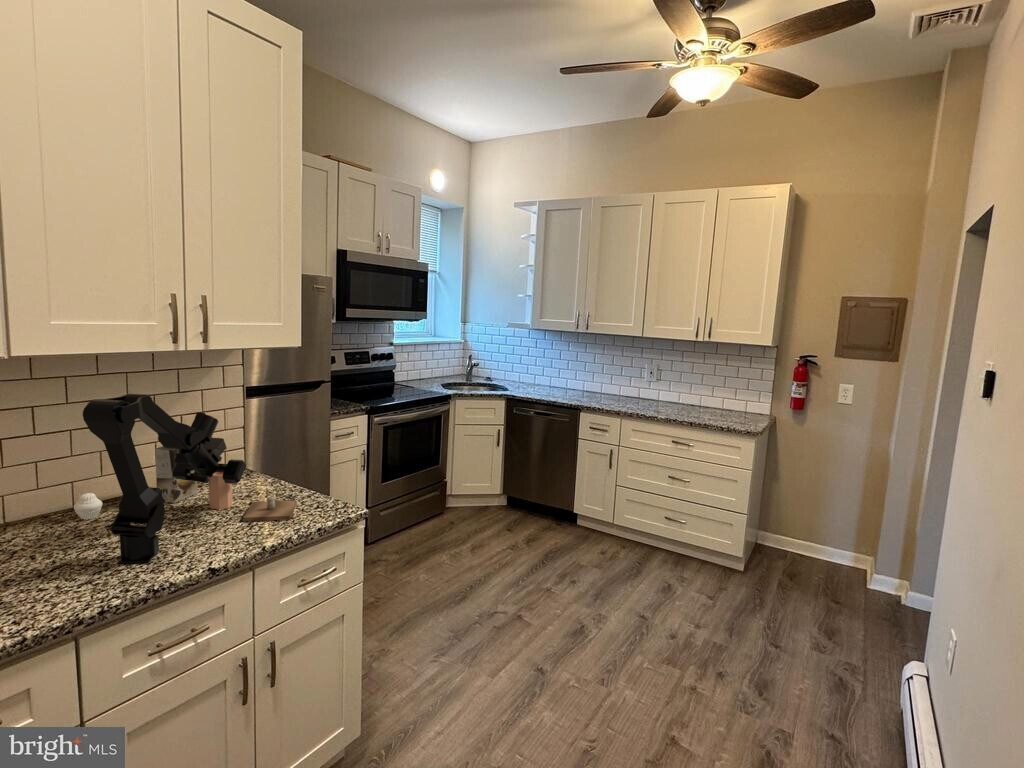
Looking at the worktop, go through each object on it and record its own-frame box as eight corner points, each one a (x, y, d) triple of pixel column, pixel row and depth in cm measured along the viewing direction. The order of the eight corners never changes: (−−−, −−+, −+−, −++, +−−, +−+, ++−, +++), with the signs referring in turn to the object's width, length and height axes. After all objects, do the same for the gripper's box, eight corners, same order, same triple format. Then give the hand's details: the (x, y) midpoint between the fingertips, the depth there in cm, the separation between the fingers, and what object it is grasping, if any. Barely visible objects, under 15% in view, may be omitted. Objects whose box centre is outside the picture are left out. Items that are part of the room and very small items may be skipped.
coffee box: (175, 504, 161) (172, 450, 159) (156, 501, 163) (153, 448, 160) (198, 493, 170) (196, 442, 168) (180, 491, 171) (178, 440, 169)
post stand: (243, 521, 151) (242, 505, 150) (253, 505, 163) (253, 490, 162) (289, 519, 154) (289, 504, 153) (296, 504, 165) (296, 489, 165)
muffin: (95, 522, 147) (93, 497, 145) (69, 522, 146) (67, 497, 144) (108, 513, 153) (106, 488, 152) (83, 513, 152) (81, 489, 151)
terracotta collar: (213, 510, 158) (211, 476, 156) (208, 504, 162) (206, 471, 160) (234, 506, 162) (233, 473, 160) (228, 500, 166) (227, 468, 164)
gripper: (241, 433, 153) (262, 460, 166) (176, 429, 154) (202, 456, 167) (226, 469, 147) (249, 494, 159) (158, 464, 148) (187, 490, 160)
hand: (222, 482), depth 162 cm, fingers open, 8 cm apart
